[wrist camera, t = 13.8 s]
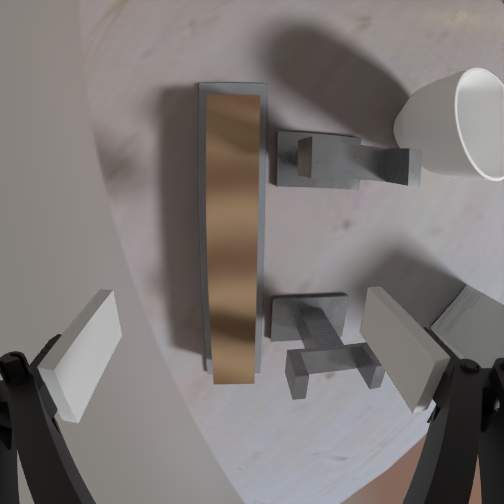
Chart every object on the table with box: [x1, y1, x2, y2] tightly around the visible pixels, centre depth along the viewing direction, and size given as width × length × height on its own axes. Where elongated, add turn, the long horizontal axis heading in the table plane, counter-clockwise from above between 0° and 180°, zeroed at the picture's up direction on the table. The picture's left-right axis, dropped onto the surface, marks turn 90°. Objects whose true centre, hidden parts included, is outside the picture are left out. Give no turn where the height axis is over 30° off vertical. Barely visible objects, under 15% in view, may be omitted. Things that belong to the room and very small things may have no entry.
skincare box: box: [431, 285, 504, 368], centre depth 27 cm, size 8×6×15 cm
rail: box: [206, 94, 260, 384], centre depth 26 cm, size 26×4×4 cm, turn 179°
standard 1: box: [276, 131, 422, 190], centre depth 22 cm, size 5×8×11 cm, turn 89°
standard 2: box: [270, 294, 385, 400], centre depth 26 cm, size 5×8×11 cm, turn 89°
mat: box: [198, 83, 267, 374], centre depth 28 cm, size 30×6×1 cm, turn 179°
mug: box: [393, 67, 504, 181], centre depth 21 cm, size 12×9×12 cm
